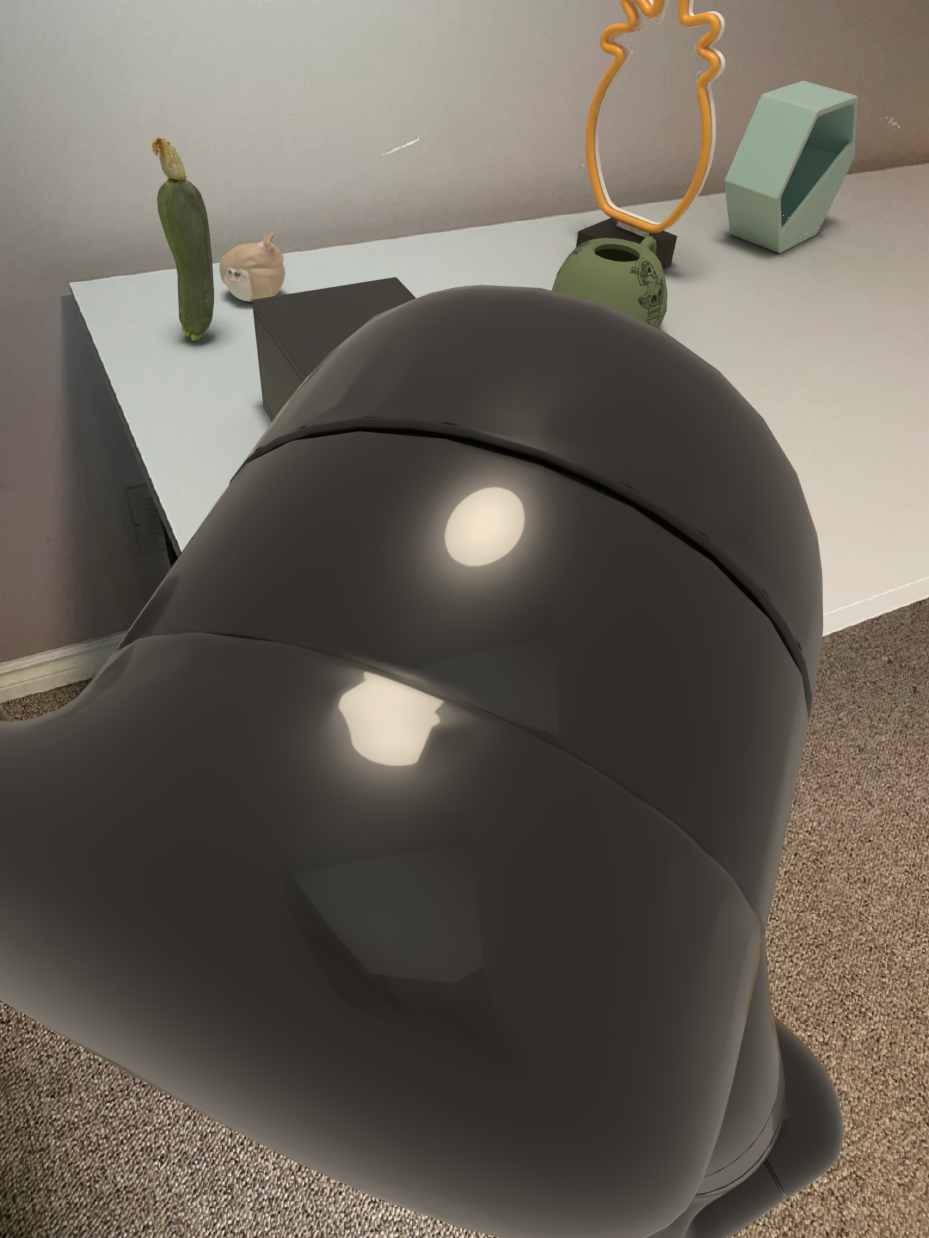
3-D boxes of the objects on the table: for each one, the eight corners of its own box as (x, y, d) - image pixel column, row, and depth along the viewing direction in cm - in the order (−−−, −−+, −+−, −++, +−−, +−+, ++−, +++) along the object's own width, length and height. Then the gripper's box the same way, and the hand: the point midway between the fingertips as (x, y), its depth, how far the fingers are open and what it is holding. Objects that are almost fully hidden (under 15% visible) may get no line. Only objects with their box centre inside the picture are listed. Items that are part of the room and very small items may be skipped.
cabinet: (460, 459, 84) (467, 352, 76) (316, 494, 79) (309, 383, 72) (395, 379, 93) (396, 276, 86) (262, 406, 88) (251, 299, 81)
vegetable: (219, 329, 98) (193, 126, 84) (226, 349, 95) (200, 142, 81) (177, 334, 97) (142, 128, 83) (183, 354, 94) (148, 145, 80)
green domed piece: (626, 368, 98) (642, 289, 92) (524, 327, 103) (533, 250, 96) (692, 315, 107) (711, 241, 101) (597, 281, 112) (609, 208, 106)
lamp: (549, 250, 118) (588, -53, 95) (591, 232, 122) (637, -60, 100) (657, 297, 110) (727, -20, 88) (697, 276, 115) (773, -30, 92)
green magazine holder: (780, 281, 126) (776, 166, 108) (732, 261, 130) (720, 147, 111) (853, 187, 127) (861, 57, 109) (803, 170, 131) (803, 41, 112)
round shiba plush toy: (243, 317, 100) (235, 244, 95) (214, 294, 104) (204, 222, 98) (295, 301, 104) (290, 230, 98) (266, 280, 107) (259, 209, 101)
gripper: (637, 715, 47) (489, 526, 57) (376, 814, 42) (264, 587, 52) (611, 799, 52) (480, 612, 62) (377, 895, 47) (275, 676, 57)
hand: (382, 601), depth 57 cm, fingers open, 8 cm apart
